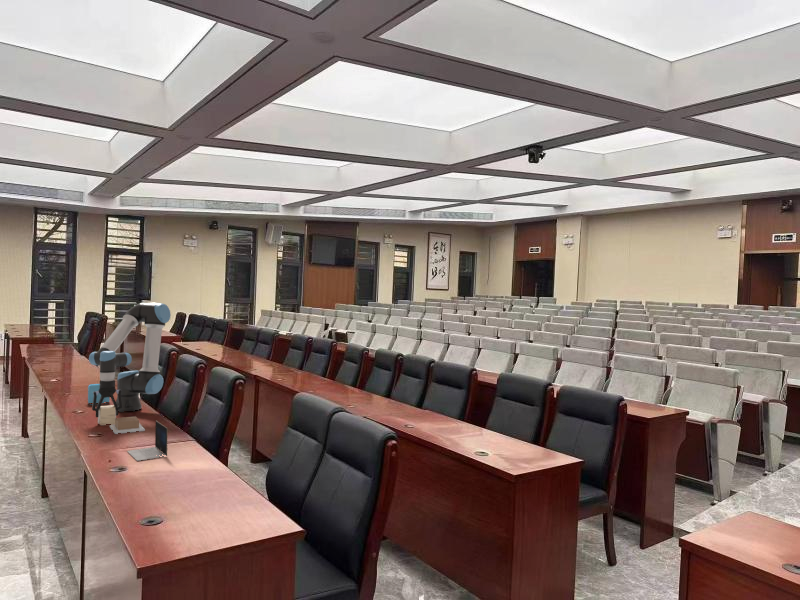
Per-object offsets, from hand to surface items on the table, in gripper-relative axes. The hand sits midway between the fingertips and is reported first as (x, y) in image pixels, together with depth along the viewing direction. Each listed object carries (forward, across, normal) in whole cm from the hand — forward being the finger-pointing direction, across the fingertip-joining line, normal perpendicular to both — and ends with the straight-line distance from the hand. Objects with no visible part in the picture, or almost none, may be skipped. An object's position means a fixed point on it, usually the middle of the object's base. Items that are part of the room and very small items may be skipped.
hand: (106, 422), depth 319 cm
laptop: (+1, -6, +72) cm, 73 cm away
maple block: (+1, 0, 0) cm, 1 cm away
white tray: (+1, -7, +18) cm, 19 cm away
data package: (+1, -4, -62) cm, 62 cm away
